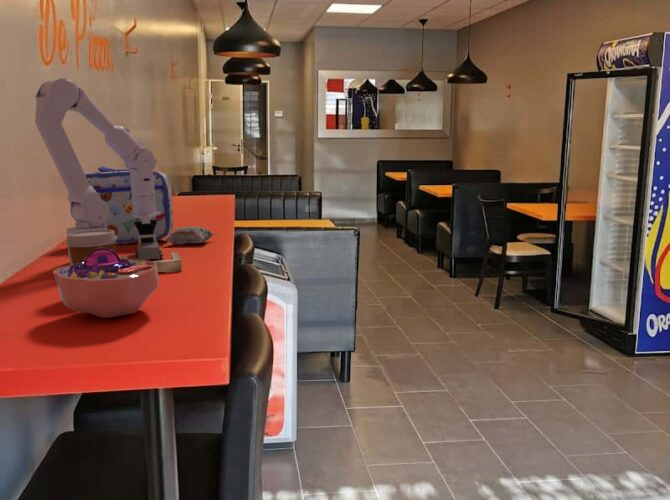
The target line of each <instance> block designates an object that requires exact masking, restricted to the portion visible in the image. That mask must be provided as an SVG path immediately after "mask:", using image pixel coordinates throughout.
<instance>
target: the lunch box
mask: <svg viewBox="0 0 670 500" xmlns="http://www.w3.org/2000/svg"><path fill="white" fill-rule="evenodd" d="M97 170H98V171H94V172H90V173H85V175H86V178H87V180H88V182H89V184H90V186H91V187H92V188H93V189H94V190H95V191H96V192H97V193H98V195H99V197H100V199H101V200H102V201H104V202H105V203H106V204H107V205H108V207H109V217H108V219H107V221H106V225H107V230H113V231H114V233H115V236H116V237H117V239H116V242H115V245H128V244H127V243H132V244H138V235H140V234H139V232H138V230H137V228H136V226H135V224H134V222H137V221H141V220H142V219H140V218H135V217H133V215H132V214H133V205H132V193H131V181H130V169H129V168H126V169H123V168H122V169H120V168H119V169H117V168H115V169H114V168H110V167H109V168H108V167H107V166H106V167H105V166H99V167H98V168H97ZM153 178H154V192H155V204H156V212H161V215H157V216H154V217H152V218H151V219H150V220H153V219H155V220H157V224H156V227H155V229H154V234H156V241H159V240H162V239H165V238H167V237H168V236H170V234H171V233H172V232H173V227H174V219H173V218H174V214H173V199H172V184H171V180H170V178H169V176H168V175H167V174H165V172H161V171H158V170H157V171H155V170H153ZM153 242H154V237H153Z"/></svg>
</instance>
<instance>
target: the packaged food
mask: <svg viewBox="0 0 670 500" xmlns="http://www.w3.org/2000/svg"><path fill="white" fill-rule="evenodd" d="M214 235H215V234H214V233H213V232H212V231H210V230H209V229H207V228H206V227H201V226H183V227H178V228H176V229H174V230H172V231H171V233H170V234H169V235H167V236H166V237H165V238H163V240H162V242H168V243H170V244H172V245H175V246H177V245H178V246H195V245H199V244H203V243H205V242H207V241H209V240H210V239H211V237H213V236H214Z"/></svg>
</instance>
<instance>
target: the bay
mask: <svg viewBox="0 0 670 500" xmlns="http://www.w3.org/2000/svg"><path fill="white" fill-rule="evenodd" d="M120 258H121V259H129V258H128V256H127V255H125V256H120ZM150 261H151V260H150ZM151 262H156V263H157V268H158V272H165V273H175V272H182V269H183V268H182V259H181V257H180V255H179V253H178V251H176V252H174V251H173V252H170V259H165V260H164V259H163V260H154V261H153V260H152V261H151Z"/></svg>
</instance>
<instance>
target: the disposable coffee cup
mask: <svg viewBox="0 0 670 500" xmlns="http://www.w3.org/2000/svg"><path fill="white" fill-rule="evenodd" d="M116 239H117V237H116V236H115V233H114V231H113V230H88V231H79V232H73V233H70V234H68V235H67V234H66V240H65V244H66V246H67V247H68V246H69V250H70V255H71V259H72V263H73V264H77V263H81V262H84V260H85V258H86V256H87V255H88V254H89V253H90V252H91V251H93V250H94V249H97V248H108V249H110V250H112V251H114V252H116V249H115V248H116V244H115V242H116Z"/></svg>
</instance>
